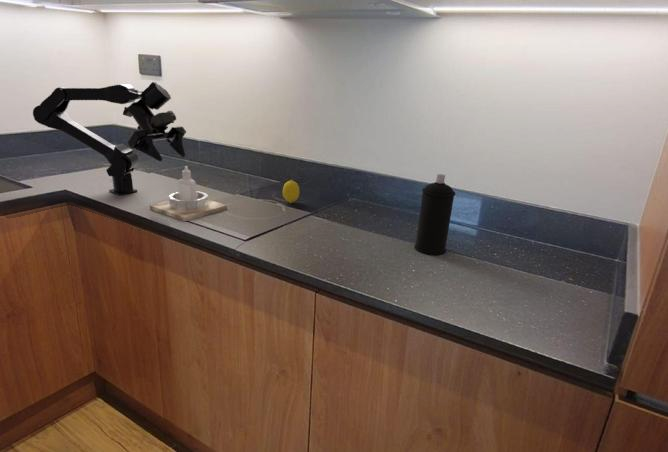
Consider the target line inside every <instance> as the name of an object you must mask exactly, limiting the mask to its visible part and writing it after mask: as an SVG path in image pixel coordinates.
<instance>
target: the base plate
mask: <svg viewBox="0 0 668 452" xmlns="http://www.w3.org/2000/svg"><path fill="white" fill-rule="evenodd" d="M149 209H150V210H152V211H154V212H158V213H159V214H160V213H161V214H162V215H165V216H169V217H171V218H174V219H177V220H178V221H179V220H180V221H183V222H187V221H191V220H194V219H198V218H200V217H203V216H208V215H212V214H214V213H215V214H216V213H218V212H222V211H225V210H228V205H227V204H224V203H220V202H218V201H215V200H214V201H213V200H212V199H208V206H207V207H206V208H204V209H200V210H194V211H179V210H175V209H172V208H170V206H169V200H166V201H162V202H158V203H154V204H150V205H149Z"/></svg>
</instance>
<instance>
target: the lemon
mask: <svg viewBox="0 0 668 452" xmlns="http://www.w3.org/2000/svg"><path fill="white" fill-rule="evenodd" d="M282 196H283V198H284V200H285V201H287V202H288V203H289V204H292V203H294V202H295V201H297V200H298V199H299V197H300V187H299V184H298V183H297V182H296V181H294V180H293V179H290V180H287V182H285V183H284V185H283V188H282Z"/></svg>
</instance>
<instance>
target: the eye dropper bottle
mask: <svg viewBox="0 0 668 452" xmlns="http://www.w3.org/2000/svg"><path fill="white" fill-rule="evenodd" d="M181 174H182V175H181V176H182V178H180V179H179V180H178V182H177V183H178V192H179V200H196V199H197V194H196V191H197V183H196V180H194V179H193V178H192V172H191V170H189V168H188V166H187V165H186V166H185V165H184V169H183V170H182V171H181Z"/></svg>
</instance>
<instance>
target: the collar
mask: <svg viewBox="0 0 668 452" xmlns="http://www.w3.org/2000/svg"><path fill="white" fill-rule="evenodd" d="M196 194H197V199H196V200H179V191H177V192H172V193H171V194H169V195H168V201H169V206H170V208H172V209H175V210H179V211H194V210H200V209H204V208H206V207H207V206H208V200H209V195H208V194H207V193H206V192H202V191H199V190H196Z"/></svg>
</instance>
